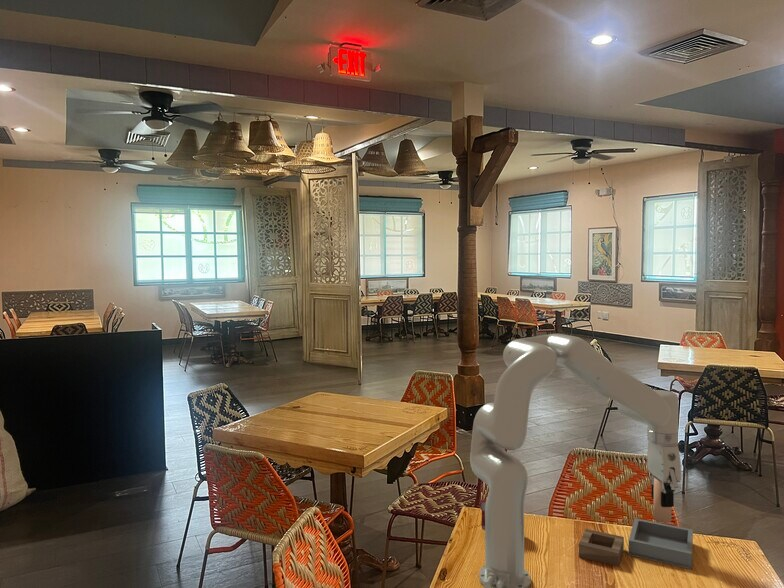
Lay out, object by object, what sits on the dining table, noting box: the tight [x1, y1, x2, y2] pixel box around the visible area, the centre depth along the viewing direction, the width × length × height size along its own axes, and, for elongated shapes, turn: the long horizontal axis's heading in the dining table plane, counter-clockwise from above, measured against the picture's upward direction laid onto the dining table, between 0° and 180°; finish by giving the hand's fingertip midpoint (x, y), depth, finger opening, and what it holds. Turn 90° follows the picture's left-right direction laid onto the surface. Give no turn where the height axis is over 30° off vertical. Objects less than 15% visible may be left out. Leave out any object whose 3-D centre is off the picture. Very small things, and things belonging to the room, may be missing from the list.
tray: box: [627, 517, 694, 570], centre depth 151 cm, size 15×15×4 cm
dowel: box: [653, 477, 672, 524], centre depth 151 cm, size 4×4×11 cm
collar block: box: [578, 528, 625, 567], centre depth 149 cm, size 10×10×4 cm
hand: (662, 501), depth 151 cm, fingers closed on dowel, 4 cm apart
